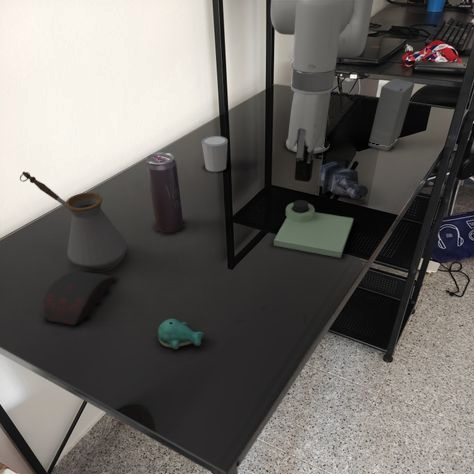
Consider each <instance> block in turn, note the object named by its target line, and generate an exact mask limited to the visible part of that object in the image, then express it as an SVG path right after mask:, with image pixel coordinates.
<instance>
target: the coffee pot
mask: <svg viewBox="0 0 474 474" xmlns="http://www.w3.org/2000/svg"><path fill="white" fill-rule="evenodd" d="M23 176H24V177H25V178H26V179H24V180H22V177H23ZM19 180H20V182H23V183H24V182H26V181H28V180H29V182H30V183H31V184H34V185H35V186H36V188H38V189H39V190H40V191H42V192H43V193H44V194H46V195H48V196H49V197H50V198H52V199H53V200H55V201H56V202H58V203H60V204H61V205H62V206H63V207H64V208H66V209H67V210H69V211H70V212H71V214H72V215H71V221H70V222H71V223H70V230H69V237H68V245H67V252H66V254H67V257H68V259H69V261H71V263H72V264H74V266H75V267H78V268H80V269H83V270H85V271H87V272H90V273H102V272H106V271H109V270H112V269H113V268H115V267H117V266H118V265H119V263H120V262H121V261H122V260H123V259H124V257H125V256H126V253H127V251H128V250H127V249H128V243H127V241H126V239H125V238H124V236H123V235H122V234H121V232H120V231H119V230H118V229H117V227H116V226H115V225H114V224H113V222H112V221H111V220H110V219H109V217H108V216H107V214H106V213H105V212H104V211H103V210H102V208H101V207H102V206H101V204H102V203H103V197H102V196H101V195H100V194H99V192H81V193H78V194H74V195H72V196H70V197H68V198H67V200H64V199H62V198H61V197H60V196H59V195H58V194H57V193H55V192H54V191H53V190H52V189H51V188H49V186H47V185H46V184H45V183H43V182H41V181H40V180H37V178H36V176H32V175H31V173H29V172H27V171H22V173H21V175H20V176H19Z"/></svg>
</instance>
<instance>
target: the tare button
mask: <svg viewBox="0 0 474 474" xmlns="http://www.w3.org/2000/svg"><path fill="white" fill-rule="evenodd" d="M292 203H293V211H294V212H297V213H305V212H307V211H308V204H309V202H308V201H307V200H304V199H297V200H295V201H294V202H292Z"/></svg>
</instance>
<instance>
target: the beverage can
mask: <svg viewBox="0 0 474 474" xmlns="http://www.w3.org/2000/svg"><path fill="white" fill-rule="evenodd" d="M145 161H146V162H145V167H146V173H147V180H148V185H149V190H150V197H151V203H152V209H153V216H154V220H155V221H154V222H155V227H156V228H157V229H158V231H160V232H161V233H162V232H163V233H169V234H170V233H175V232H177V231H179V230H181V229H182V227H183V225H184V218H183V210H182V208H183V207H182V201H181V193H180V184H179V174H178V167H177V166H178V165H177V161H176V157H175V155H174V154H173V153H170V152H155V153H152V154H149V155H148V156H147V157H146V158H145Z"/></svg>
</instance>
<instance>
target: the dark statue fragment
mask: <svg viewBox="0 0 474 474" xmlns="http://www.w3.org/2000/svg"><path fill="white" fill-rule="evenodd" d="M346 164H347V161H345V160H344V161H341V162H338V163H337V161H330V162H328V163H325V164H322V165H320V166H319V175H318V183H317V184H318V187H322V191H321V192H322V194H326V193H328V192H331V193H332V194H334V195H338V196H342V197H346V198H347V197H351V198H352V199H353V200H357V201H362V200H365V199H366V198H367V197H368V195H369V189H368V187H367V186H366V185H362V184H360V182H359V174H358V170H354V169H350V168H347V167H346Z"/></svg>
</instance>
